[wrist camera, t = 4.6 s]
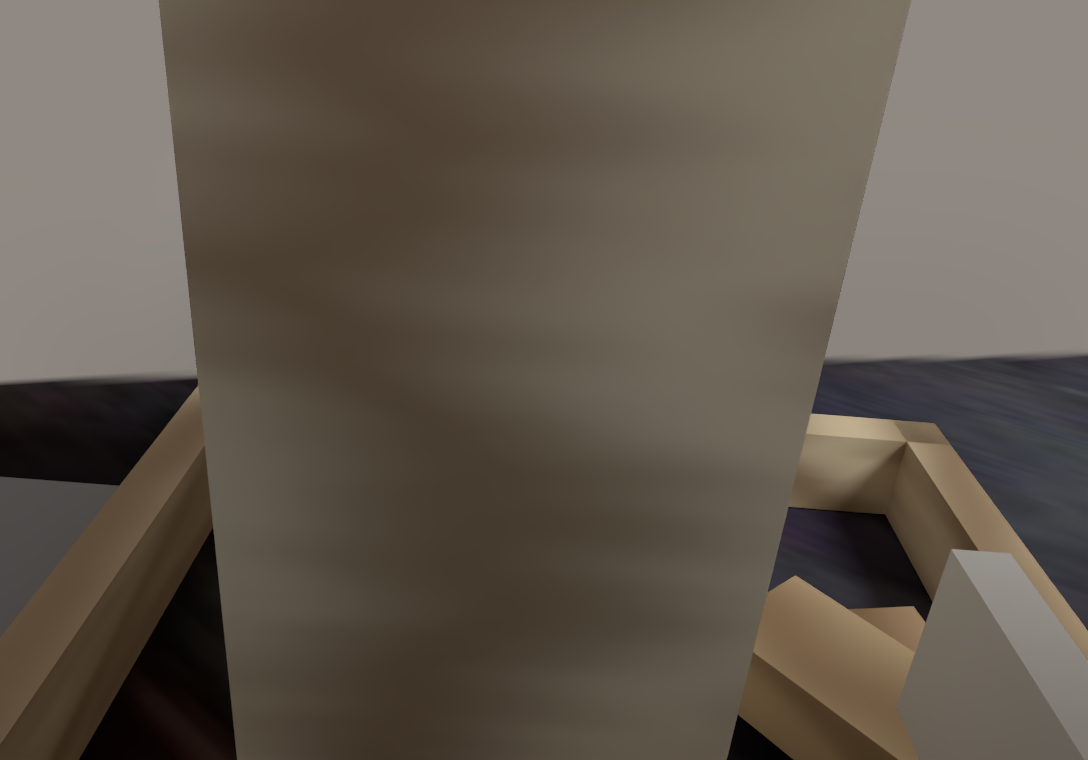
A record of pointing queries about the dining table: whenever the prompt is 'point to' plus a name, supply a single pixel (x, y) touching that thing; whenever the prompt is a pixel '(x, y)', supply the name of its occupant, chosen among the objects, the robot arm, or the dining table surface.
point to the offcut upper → (825, 680)
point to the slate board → (39, 533)
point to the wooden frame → (186, 520)
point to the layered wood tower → (510, 353)
